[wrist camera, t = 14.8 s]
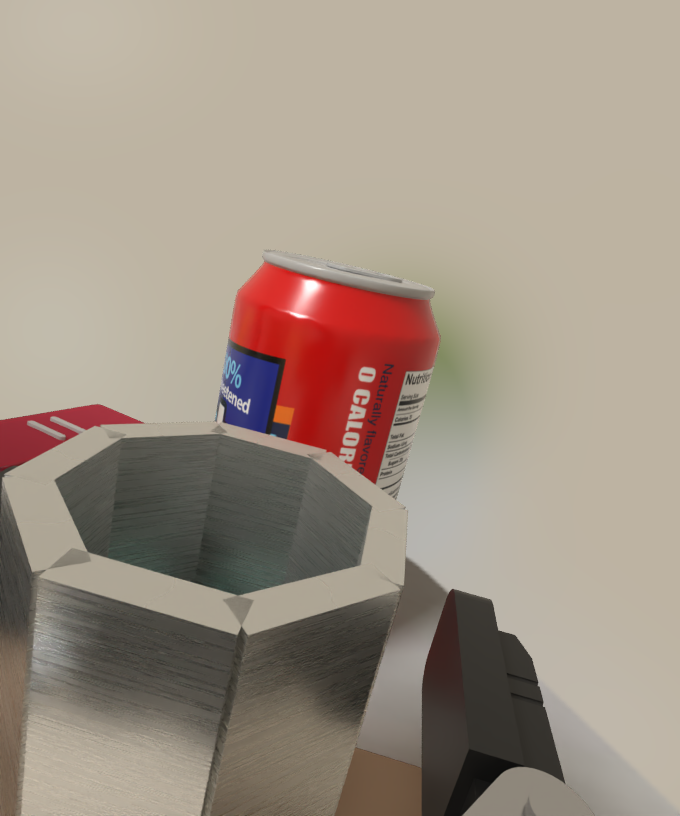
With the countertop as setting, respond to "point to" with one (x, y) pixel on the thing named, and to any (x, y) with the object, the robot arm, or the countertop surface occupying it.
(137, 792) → the sleeve
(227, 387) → the soda can
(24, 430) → the calculator
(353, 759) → the jig board
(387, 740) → the countertop surface
